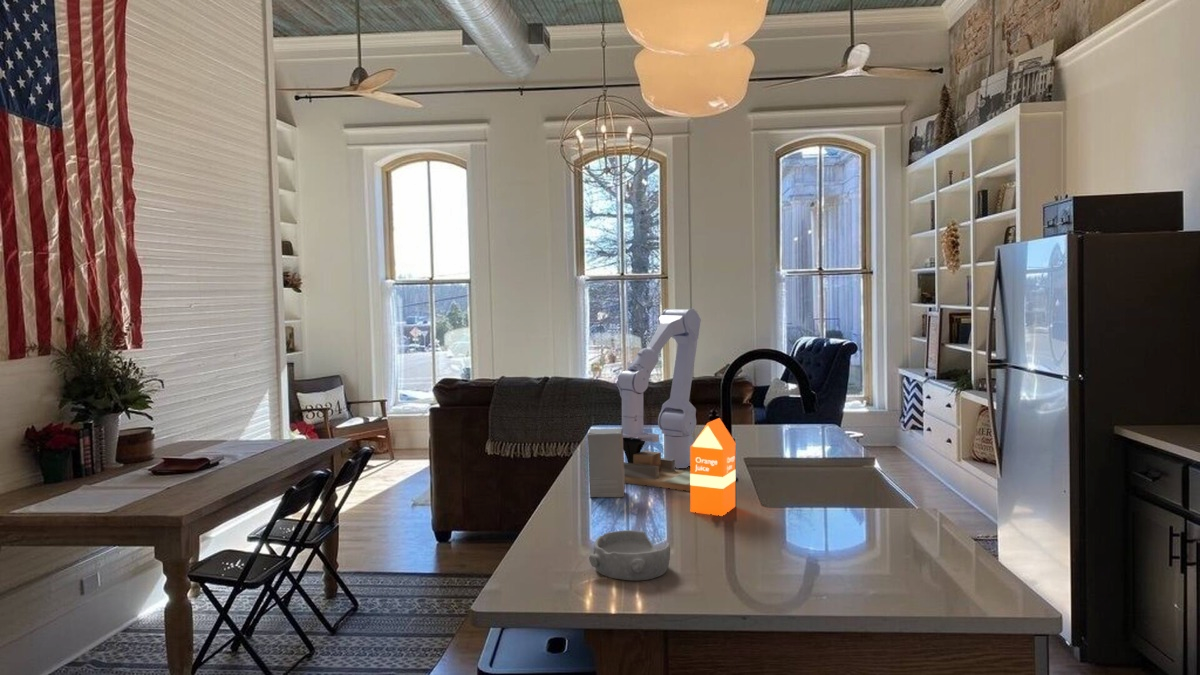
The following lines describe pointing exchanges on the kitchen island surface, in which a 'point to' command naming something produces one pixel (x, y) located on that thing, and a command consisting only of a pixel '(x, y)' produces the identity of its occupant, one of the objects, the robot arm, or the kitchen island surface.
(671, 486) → the chute board
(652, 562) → the dish
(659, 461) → the walnut block
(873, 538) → the kitchen island surface
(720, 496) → the orange juice
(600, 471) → the skincare box
